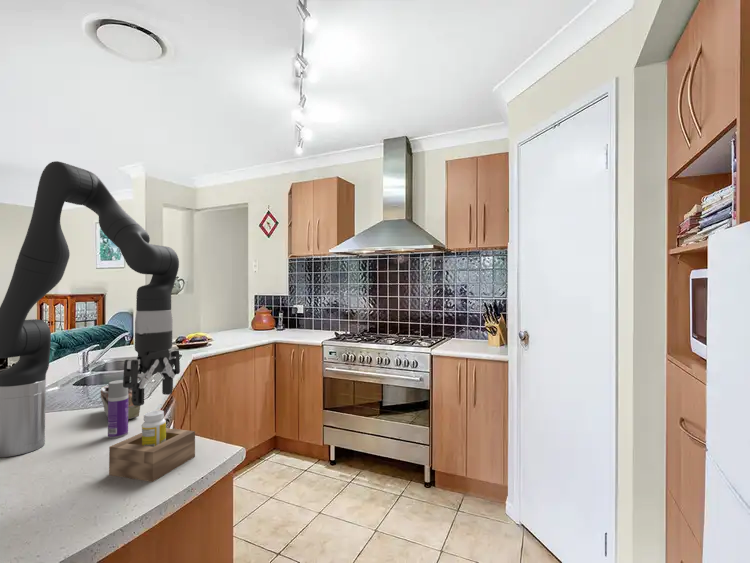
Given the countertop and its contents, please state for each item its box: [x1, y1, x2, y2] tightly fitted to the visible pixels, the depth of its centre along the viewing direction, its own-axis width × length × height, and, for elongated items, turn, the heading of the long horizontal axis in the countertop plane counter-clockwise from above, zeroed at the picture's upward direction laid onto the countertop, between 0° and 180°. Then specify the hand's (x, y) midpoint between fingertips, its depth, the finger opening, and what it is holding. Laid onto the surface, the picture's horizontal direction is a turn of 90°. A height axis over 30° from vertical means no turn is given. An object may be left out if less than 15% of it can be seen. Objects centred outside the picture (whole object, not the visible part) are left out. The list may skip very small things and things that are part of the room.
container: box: [107, 379, 129, 440], centre depth 102 cm, size 5×5×15 cm
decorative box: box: [100, 384, 141, 420], centre depth 118 cm, size 13×20×10 cm, turn 37°
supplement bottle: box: [141, 409, 167, 447], centre depth 84 cm, size 5×5×8 cm
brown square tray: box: [108, 427, 196, 483], centre depth 84 cm, size 12×12×6 cm
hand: (153, 399), depth 84 cm, fingers open, 8 cm apart
